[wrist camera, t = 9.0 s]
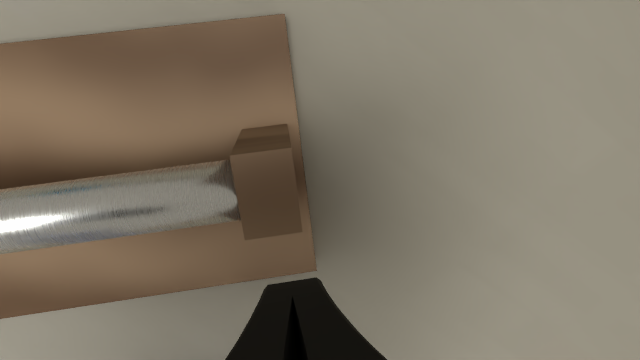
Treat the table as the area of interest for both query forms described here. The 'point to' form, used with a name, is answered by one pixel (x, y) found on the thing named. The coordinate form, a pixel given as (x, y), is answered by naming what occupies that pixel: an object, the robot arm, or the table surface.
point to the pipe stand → (149, 164)
